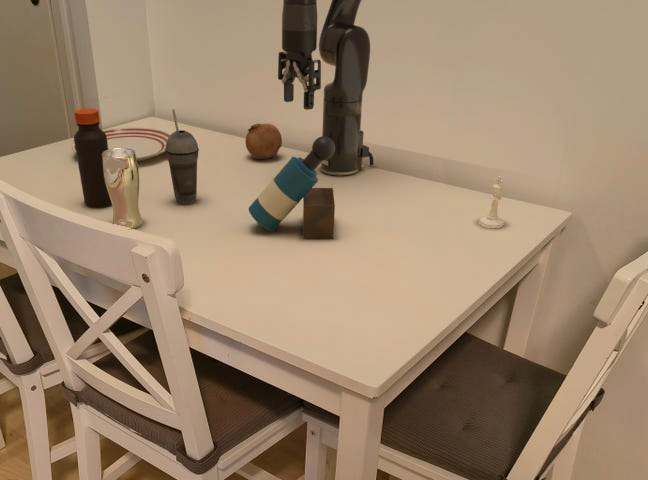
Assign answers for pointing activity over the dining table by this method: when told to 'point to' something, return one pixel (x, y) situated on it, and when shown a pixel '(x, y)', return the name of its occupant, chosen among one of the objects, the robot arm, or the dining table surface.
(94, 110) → the vinegar
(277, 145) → the onion
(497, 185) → the chess piece
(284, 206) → the striped banded cylinder
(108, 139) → the dinner plate
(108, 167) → the beer glass
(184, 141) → the beverage cup
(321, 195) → the walnut block
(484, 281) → the dining table surface
